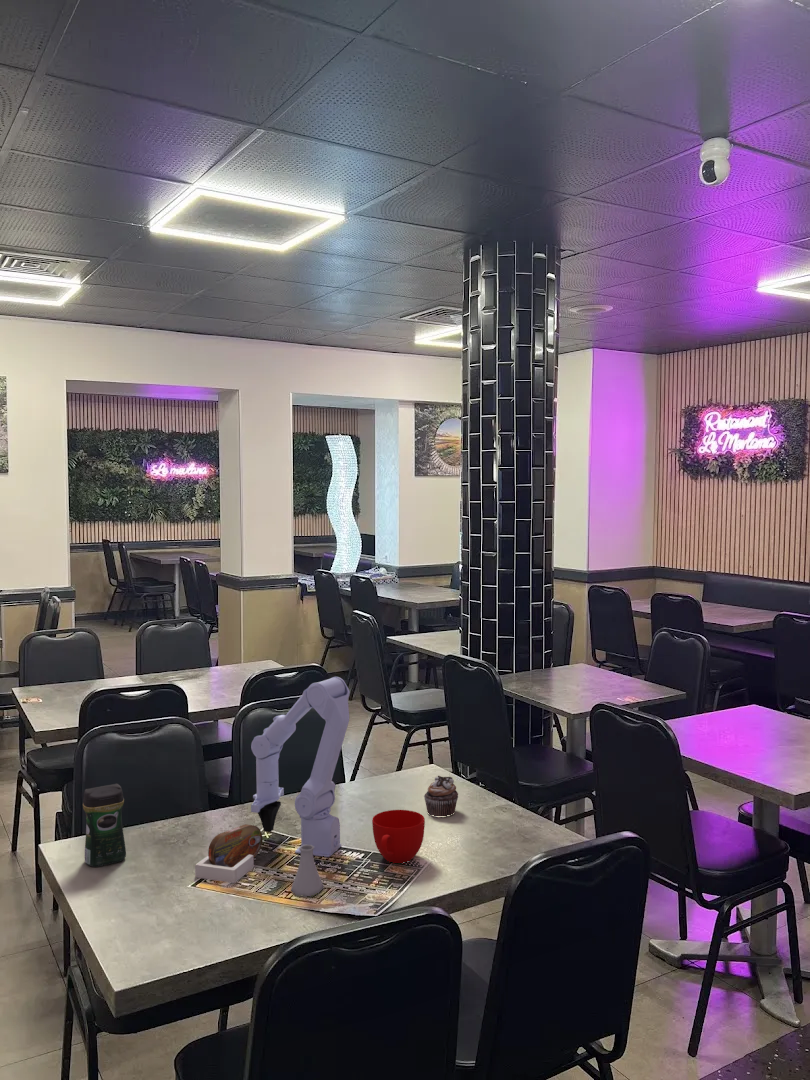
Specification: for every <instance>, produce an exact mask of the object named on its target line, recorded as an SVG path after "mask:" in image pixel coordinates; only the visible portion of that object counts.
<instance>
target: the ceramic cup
mask: <svg viewBox="0 0 810 1080" xmlns="http://www.w3.org/2000/svg"><path fill="white" fill-rule="evenodd" d="M425 819H426V818H425V816H424V815H422V814H421V813H420V812H418V811H417V812H416V811H413V810H408V809H389V810H384V811H382V812H378V813H377V814H375V815H374V816H373V817H372V819H371V820H372V823H371V824H372V833H373V839H374V842H375V846H376V849H377V851H378V853H380V855H382V858H384V860H387V861H386V862H388V861H389V862H388V863H390V862H393V863H392V864H394V863H403V862H407V861H410V860H411V859H412V860H413V859H414V857H416V855H417V854H418V852H419V851H420V850H421V847H422V844H423V841H424V836H425V828H426V827H425V825H426V824H425V823H426V821H425ZM412 860H411V861H412ZM411 861H410V862H411ZM407 863H408V862H407ZM403 864H404V863H403Z"/></svg>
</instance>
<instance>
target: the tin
mask: <svg viewBox="0 0 810 1080" xmlns="http://www.w3.org/2000/svg"><path fill="white" fill-rule="evenodd" d="M262 844H263V833H262V830H260V828H259V826H256V825H254V824H248V823H247V824H242V825H240V826H239V825H238V826H236V827H235V828H234V827H233V828H231V829H228V830H226V831H224V832H223V831H222V832H220V833H218V834H217V835H215V836H214V837H213V838H212V839H211V842H210V843H209V846H208V850H207V853H208V855H207V856H209V861H210V863H211V864H212V865H217V866H224V867H231V868H232V867H233V866H235V865H236V864H237V863H239V862H240V861H241V860H243V859H244V858H245V857H246V856H248V855H253V859H254V858H255V857H256V856H257V855H258V854H259V853H260V851H261V849H262Z"/></svg>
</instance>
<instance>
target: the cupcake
mask: <svg viewBox="0 0 810 1080" xmlns="http://www.w3.org/2000/svg"><path fill="white" fill-rule="evenodd" d="M454 782H455V780H454V779H453V777H451V776H440V775H437V776H435V778H434V781H433V782H431V783H430V785H428V786H427V790H426V792H425V793H424V796H423V797H424V802H425V808H426V812H428V813H429V814H430V815H434V816H447V815H451V814H453V813H454V812H455V813H456V807H457V802H458V798H459V792H458V791H457V786H456V784H454ZM428 813H427V814H428ZM455 813H454V814H455ZM430 815H429V816H430Z"/></svg>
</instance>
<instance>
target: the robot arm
mask: <svg viewBox="0 0 810 1080" xmlns="http://www.w3.org/2000/svg"><path fill="white" fill-rule="evenodd" d="M350 691H351V690H350V688H349V687H348V685H347V684H346V682H345V680H344V679H343V678H341V677H339V676H332V677H330V678H328V679H324V680H322V681H318V682H312V683H311V684H310V685H309V686H308V687H307V688H306V689H304V690H303V692H302V694H301V696H300V697H299V698H297V701H296V702H295V703H294V704H293V706H291V708H290V709H289V710H288V712H287V713H286V714H279V715H276V716H274V717H273V718H272V720H273V722H272V723H271V724H269V726H268V727H266V728H264V729H263V731H262V732H263V733H262V734H261V735H256V736H254V737H253V740H252V741H251V743H250V746H251V747H250V748H251V752H252V754H253V756H255V760H256V761H255V764H256V766H255V767H256V768H255V769H256V793H255V794H253V795H252V799H253V802H252V804H251V805H250V812H251V813H255V814H256V813H257V814H258V816H259V818H260V822H261V825H262V830H263V832H268V833H271V832H272V831H273V830H274V827H275V823H276V818H277V815H278V813H279V810H280V808H281V805H282V802H281V801H280V798H281V797H283V796H284V795H285V793H284V791H285V790H284V789H285V788H284V787H280V786H279V779H280V778H279V760H280V759H279V758H280V754H281V751H282V749H283V747H284V744H285V742H286V741H288V739H289V738H290V737H291V736H292V735H293V734H294V733H295V732H296V729H297V725H296V724H297V723H298V722H299V721H300V720H301V719H302V718H303V717H304V716H305V715H306V714H307V713H309V712H310V710H311V709H314V710H315V711H316V712H317V714H318V715H319V716H320V718H322V719H323V720H324V721H325V725H324V728H323V731H322V735H321V739H320V742H319V745H318V748H317V752H316V755H315V759H314V763H313V766H312V769H311V773H310V777H309V778H308V779H307V781H306V782H305V783H304V785H302V788H301V791H300V793H299V794H297V796H296V797H295V800H294V807H295V810H296V813H297V814H298V815H299V818H300V829H301V832H300V838H301V841H300V843H301V845H300V846H299V847H298V848H297V849H296V850H295V851H294V852H295V854H300V855H301V851H300V850H299V848H300V847H301V846H302V845H306V844H307V845H312V846H314V849H313V856H315V857H323V856H324V858H330V857H331V856H332V855H334V853H335V852H336V851H337V850H339V849H340V848H341V847H342V843H341V824H340V823H341V822H340V818H339V817H338V816H334V815H332V814H331V807H332V806H333V805H334V804H335V800H336V796H335V795H336V794H335V790H336V784H335V782H334V781H333V777H334V773H335V770H336V767H337V763H338V760H339V757H340V753H341V751H342V746H343V743H344V739H345V737H346V732H347V729H348V726H349V723H350V709H349V707H350V706H349V697H350V693H351V692H350Z"/></svg>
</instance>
